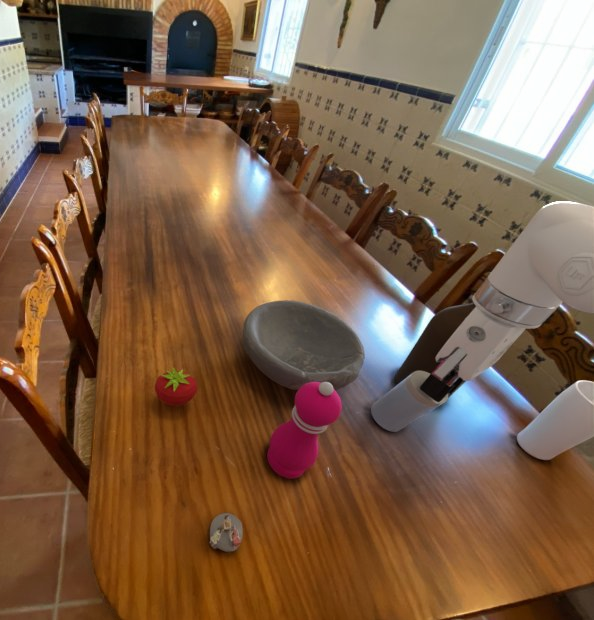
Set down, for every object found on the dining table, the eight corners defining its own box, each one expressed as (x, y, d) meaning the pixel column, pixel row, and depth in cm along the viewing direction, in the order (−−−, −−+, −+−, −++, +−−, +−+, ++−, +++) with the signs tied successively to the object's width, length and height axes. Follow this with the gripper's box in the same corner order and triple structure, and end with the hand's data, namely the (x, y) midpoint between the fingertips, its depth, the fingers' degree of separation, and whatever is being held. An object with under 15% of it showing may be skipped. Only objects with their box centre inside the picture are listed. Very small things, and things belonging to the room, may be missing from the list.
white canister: (409, 423, 66) (475, 381, 55) (390, 437, 64) (455, 396, 52) (383, 396, 70) (441, 351, 58) (364, 409, 67) (421, 364, 55)
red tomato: (195, 418, 64) (203, 383, 58) (154, 419, 63) (156, 384, 57) (191, 391, 69) (198, 356, 62) (152, 392, 68) (154, 356, 61)
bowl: (342, 343, 82) (359, 310, 76) (351, 426, 65) (375, 392, 59) (242, 319, 86) (251, 286, 80) (227, 391, 69) (237, 356, 63)
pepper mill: (262, 437, 62) (296, 359, 49) (304, 444, 62) (349, 367, 49) (265, 478, 57) (304, 402, 44) (311, 486, 56) (364, 412, 43)
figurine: (228, 512, 52) (235, 494, 49) (248, 541, 50) (258, 524, 46) (199, 533, 50) (205, 516, 46) (219, 565, 47) (227, 550, 43)
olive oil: (380, 371, 76) (446, 274, 60) (420, 364, 78) (494, 269, 62) (417, 414, 68) (505, 315, 52) (460, 404, 71) (557, 308, 55)
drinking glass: (557, 447, 65) (632, 397, 55) (555, 473, 61) (635, 424, 51) (512, 423, 68) (575, 372, 58) (507, 446, 64) (574, 395, 54)
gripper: (517, 338, 40) (430, 430, 52) (572, 300, 47) (485, 389, 59) (449, 301, 45) (384, 392, 57) (509, 272, 52) (439, 358, 63)
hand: (436, 390), depth 57 cm, fingers closed on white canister, 2 cm apart
